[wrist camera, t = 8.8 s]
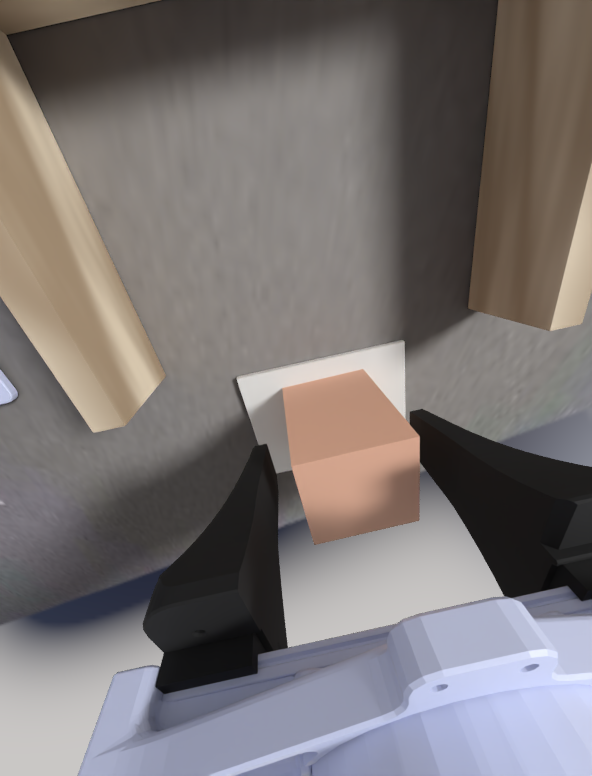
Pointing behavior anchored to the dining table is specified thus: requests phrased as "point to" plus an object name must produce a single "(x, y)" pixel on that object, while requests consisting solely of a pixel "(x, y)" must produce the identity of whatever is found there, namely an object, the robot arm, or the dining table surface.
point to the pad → (267, 385)
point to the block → (351, 456)
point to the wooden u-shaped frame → (493, 227)
